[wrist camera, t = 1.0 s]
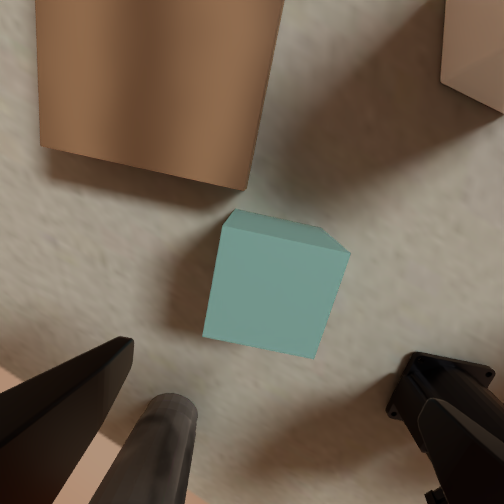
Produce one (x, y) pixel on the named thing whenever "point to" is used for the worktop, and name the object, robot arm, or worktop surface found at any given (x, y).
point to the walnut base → (157, 82)
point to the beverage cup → (153, 456)
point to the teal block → (273, 284)
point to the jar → (475, 50)
